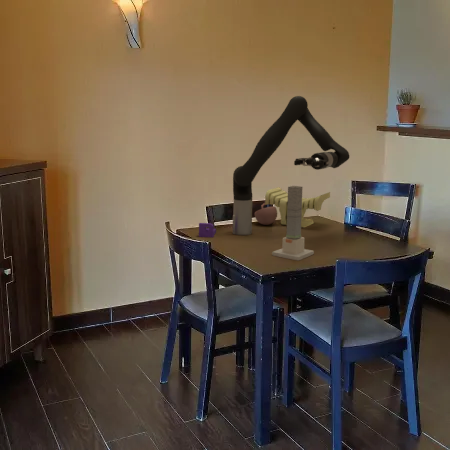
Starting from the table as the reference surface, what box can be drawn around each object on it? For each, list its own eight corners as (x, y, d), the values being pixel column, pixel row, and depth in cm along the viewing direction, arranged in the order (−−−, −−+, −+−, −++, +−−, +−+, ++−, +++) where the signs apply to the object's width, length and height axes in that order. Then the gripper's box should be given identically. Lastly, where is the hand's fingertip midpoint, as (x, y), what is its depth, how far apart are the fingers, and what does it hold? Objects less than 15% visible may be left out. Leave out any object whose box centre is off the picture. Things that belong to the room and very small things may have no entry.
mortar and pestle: (267, 221, 315) (267, 200, 313) (281, 225, 306) (282, 204, 303) (249, 224, 308) (250, 202, 306) (264, 228, 299) (264, 206, 296)
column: (295, 239, 244) (297, 188, 239) (286, 237, 247) (287, 186, 242) (301, 237, 247) (302, 186, 243) (291, 235, 250) (293, 185, 245)
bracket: (212, 238, 279) (213, 224, 277) (198, 237, 279) (198, 223, 278) (216, 232, 290) (216, 219, 289) (202, 231, 291) (202, 218, 289)
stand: (298, 260, 240) (298, 243, 238) (272, 255, 247) (272, 238, 246) (313, 254, 250) (314, 237, 248) (288, 249, 257) (288, 232, 256)
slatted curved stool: (264, 223, 309) (265, 190, 305) (278, 218, 322) (279, 187, 318) (316, 230, 294) (318, 196, 290) (328, 225, 307) (330, 192, 303)
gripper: (308, 151, 268) (289, 154, 255) (336, 153, 259) (318, 156, 247) (307, 167, 269) (289, 170, 257) (335, 170, 261) (317, 173, 248)
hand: (303, 163), depth 252 cm, fingers open, 8 cm apart
